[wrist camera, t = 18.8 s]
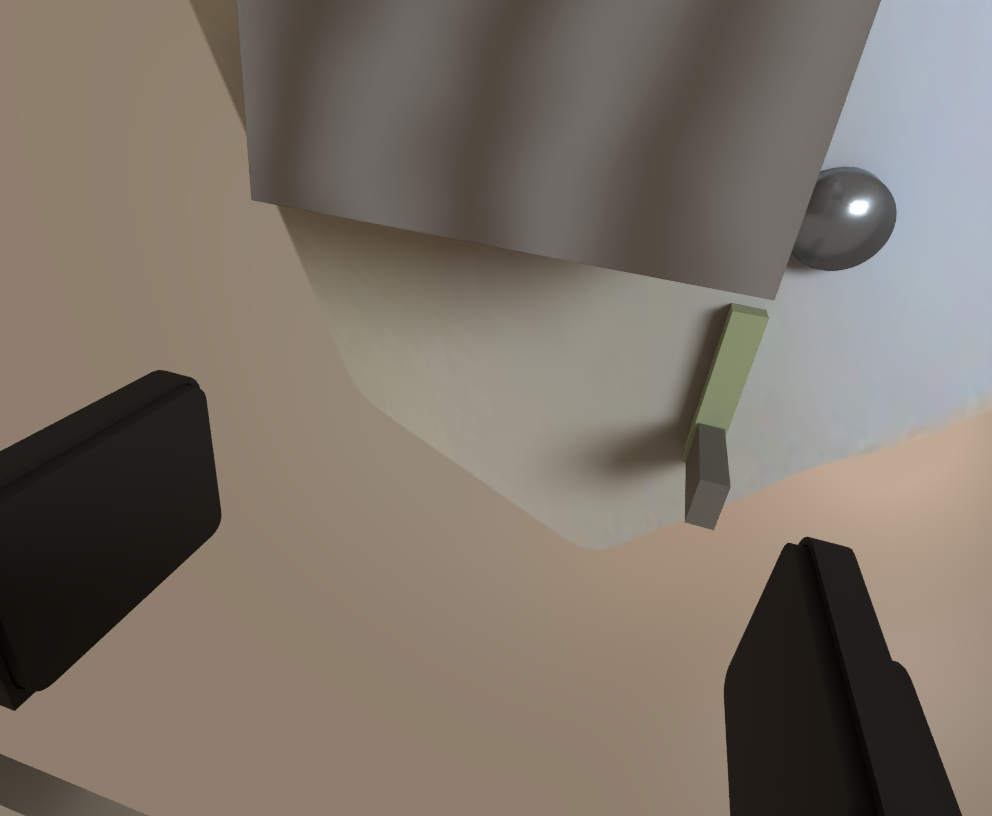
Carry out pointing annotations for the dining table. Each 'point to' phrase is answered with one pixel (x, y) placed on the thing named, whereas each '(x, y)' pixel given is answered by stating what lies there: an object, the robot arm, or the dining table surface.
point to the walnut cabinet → (557, 123)
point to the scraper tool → (719, 415)
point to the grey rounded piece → (845, 220)
